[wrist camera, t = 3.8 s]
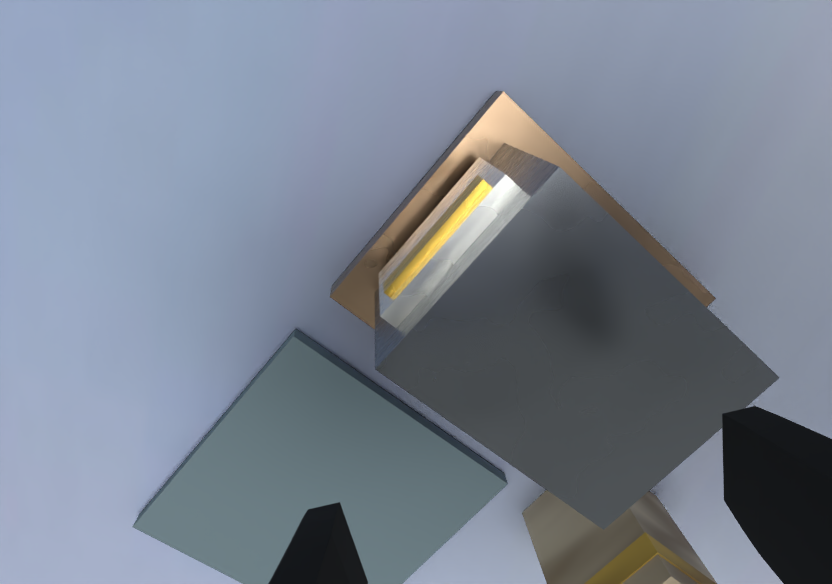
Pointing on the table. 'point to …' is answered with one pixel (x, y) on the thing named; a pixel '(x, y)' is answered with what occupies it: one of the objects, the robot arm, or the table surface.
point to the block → (612, 545)
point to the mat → (319, 473)
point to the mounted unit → (547, 319)
